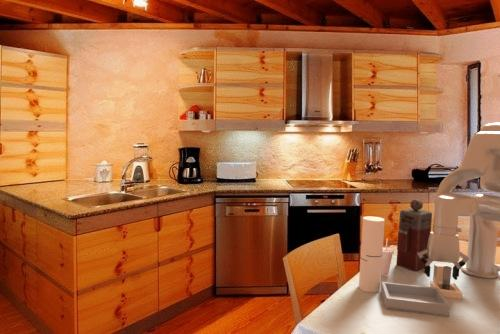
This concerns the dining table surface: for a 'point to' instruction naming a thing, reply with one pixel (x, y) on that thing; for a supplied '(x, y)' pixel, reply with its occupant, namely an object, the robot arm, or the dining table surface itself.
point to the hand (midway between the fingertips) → (441, 276)
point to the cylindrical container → (371, 253)
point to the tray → (414, 299)
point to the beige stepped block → (437, 283)
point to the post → (446, 278)
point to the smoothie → (386, 259)
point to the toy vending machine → (413, 236)
